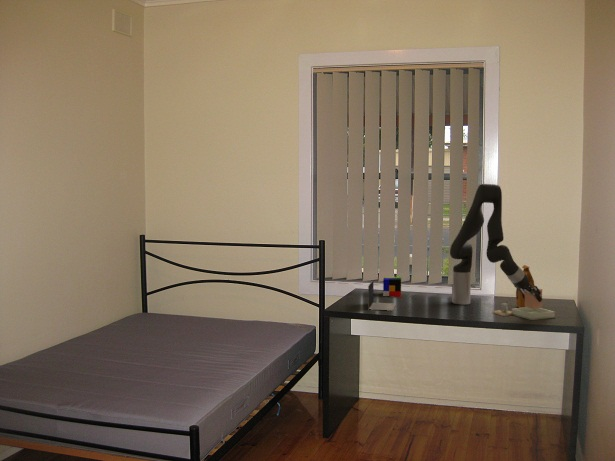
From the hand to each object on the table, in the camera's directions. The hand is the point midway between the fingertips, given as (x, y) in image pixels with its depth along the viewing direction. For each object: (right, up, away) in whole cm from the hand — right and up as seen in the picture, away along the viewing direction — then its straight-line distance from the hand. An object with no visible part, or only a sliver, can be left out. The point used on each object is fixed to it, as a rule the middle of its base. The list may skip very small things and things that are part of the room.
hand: (536, 299), depth 311 cm
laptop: (-72, -7, +24) cm, 77 cm away
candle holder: (-14, -8, +6) cm, 17 cm away
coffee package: (+1, -7, +19) cm, 20 cm away
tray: (-2, -8, 0) cm, 8 cm away
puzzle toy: (-63, -4, +58) cm, 85 cm away
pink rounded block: (-2, -4, 0) cm, 4 cm away
